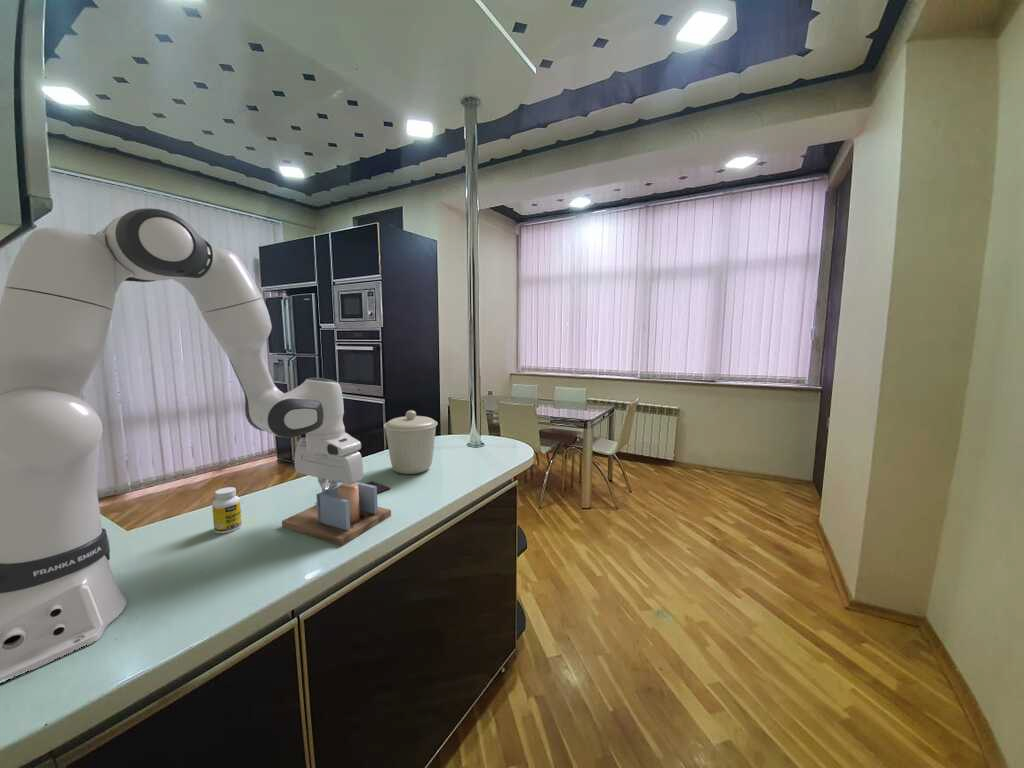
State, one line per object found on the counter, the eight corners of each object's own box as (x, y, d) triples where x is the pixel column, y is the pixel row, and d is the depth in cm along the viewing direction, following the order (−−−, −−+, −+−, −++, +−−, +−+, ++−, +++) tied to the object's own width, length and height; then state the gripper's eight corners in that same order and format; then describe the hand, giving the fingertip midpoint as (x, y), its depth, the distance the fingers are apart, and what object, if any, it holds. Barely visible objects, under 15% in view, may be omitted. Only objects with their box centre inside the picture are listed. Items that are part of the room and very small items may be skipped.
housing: (346, 530, 89) (345, 501, 88) (317, 521, 93) (316, 494, 92) (377, 512, 98) (376, 486, 98) (350, 505, 102) (349, 480, 101)
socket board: (342, 546, 86) (341, 539, 86) (282, 526, 94) (281, 520, 94) (391, 515, 101) (390, 509, 101) (335, 501, 109) (335, 495, 109)
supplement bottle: (227, 535, 90) (223, 495, 89) (208, 532, 91) (204, 493, 90) (247, 524, 95) (244, 486, 94) (229, 522, 96) (226, 484, 95)
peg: (349, 530, 93) (347, 491, 92) (335, 526, 95) (333, 488, 93) (364, 522, 97) (362, 484, 96) (350, 518, 99) (348, 481, 98)
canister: (404, 458, 146) (403, 404, 143) (447, 464, 141) (446, 407, 138) (373, 475, 129) (371, 413, 126) (420, 482, 124) (419, 418, 121)
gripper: (286, 439, 97) (289, 491, 99) (346, 450, 89) (348, 506, 91) (308, 433, 103) (311, 483, 105) (366, 443, 95) (368, 496, 97)
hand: (329, 494), depth 98 cm, fingers closed
